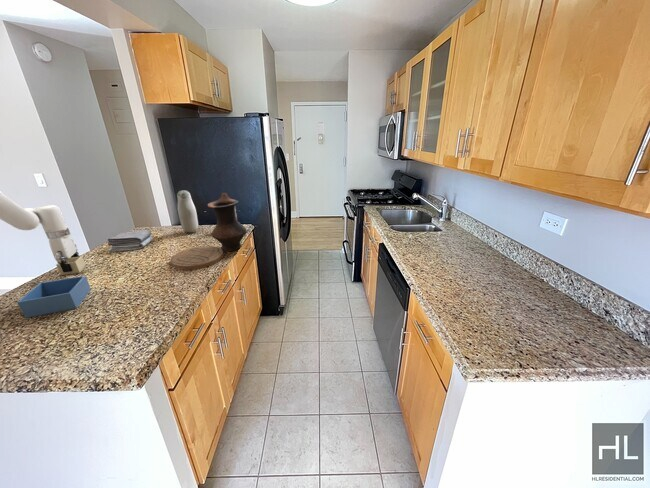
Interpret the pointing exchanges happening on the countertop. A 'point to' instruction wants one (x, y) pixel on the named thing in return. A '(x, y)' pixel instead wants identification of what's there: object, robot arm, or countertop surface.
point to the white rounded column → (187, 212)
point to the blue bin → (54, 296)
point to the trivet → (196, 257)
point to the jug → (227, 223)
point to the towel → (129, 241)
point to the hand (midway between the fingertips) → (73, 267)
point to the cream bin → (73, 265)
